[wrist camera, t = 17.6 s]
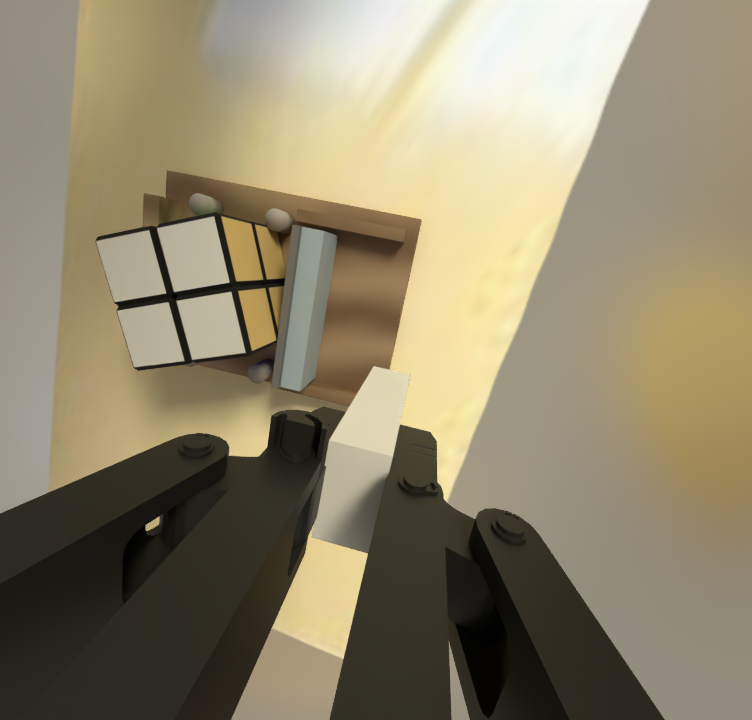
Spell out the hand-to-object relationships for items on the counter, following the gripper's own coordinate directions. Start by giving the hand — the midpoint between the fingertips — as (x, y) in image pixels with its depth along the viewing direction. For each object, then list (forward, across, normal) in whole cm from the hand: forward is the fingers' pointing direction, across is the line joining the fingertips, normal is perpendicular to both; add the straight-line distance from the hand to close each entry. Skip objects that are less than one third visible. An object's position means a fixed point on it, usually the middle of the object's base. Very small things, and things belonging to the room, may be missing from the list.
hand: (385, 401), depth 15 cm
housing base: (+22, -13, 0) cm, 25 cm away
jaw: (+20, -9, 0) cm, 22 cm away
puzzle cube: (+21, -17, 0) cm, 27 cm away
